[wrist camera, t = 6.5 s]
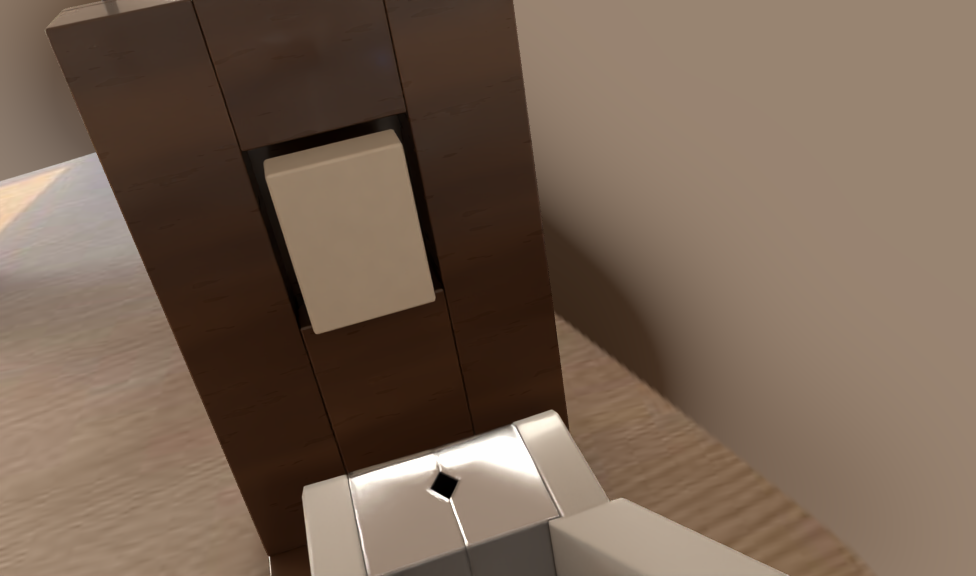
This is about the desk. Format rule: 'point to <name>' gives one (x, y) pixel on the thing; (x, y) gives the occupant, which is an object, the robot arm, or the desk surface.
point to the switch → (351, 229)
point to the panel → (260, 242)
